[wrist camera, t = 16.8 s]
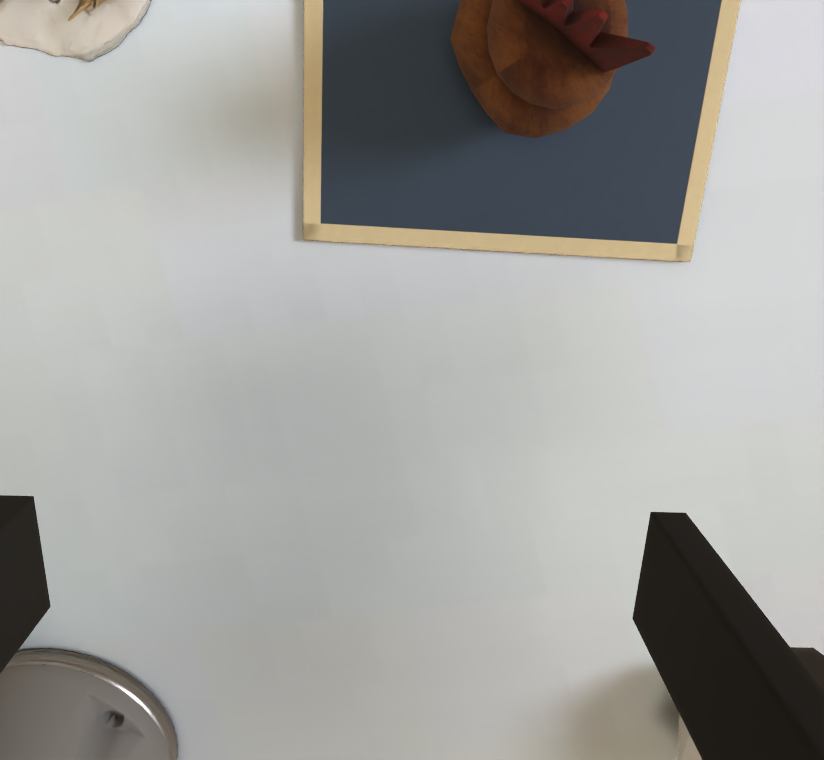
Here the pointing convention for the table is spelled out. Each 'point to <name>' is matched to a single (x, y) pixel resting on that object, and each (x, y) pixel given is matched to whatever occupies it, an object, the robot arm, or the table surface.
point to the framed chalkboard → (505, 138)
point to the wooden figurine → (542, 58)
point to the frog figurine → (69, 25)
